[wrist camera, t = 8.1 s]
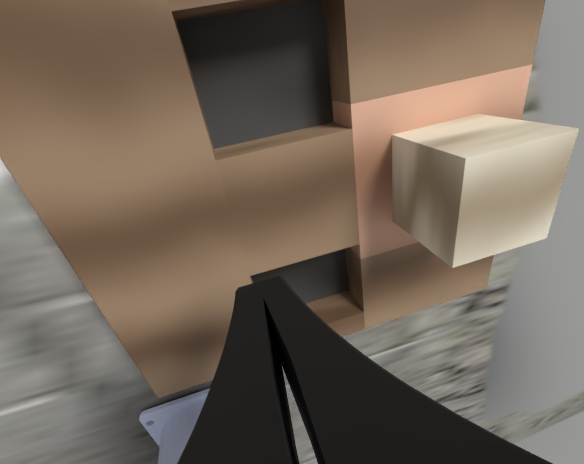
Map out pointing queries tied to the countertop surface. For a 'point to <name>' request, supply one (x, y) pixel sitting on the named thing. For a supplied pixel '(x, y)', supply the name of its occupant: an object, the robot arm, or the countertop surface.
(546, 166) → the block
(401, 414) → the robot arm
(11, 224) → the countertop surface
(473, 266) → the trap deck
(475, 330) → the countertop surface
